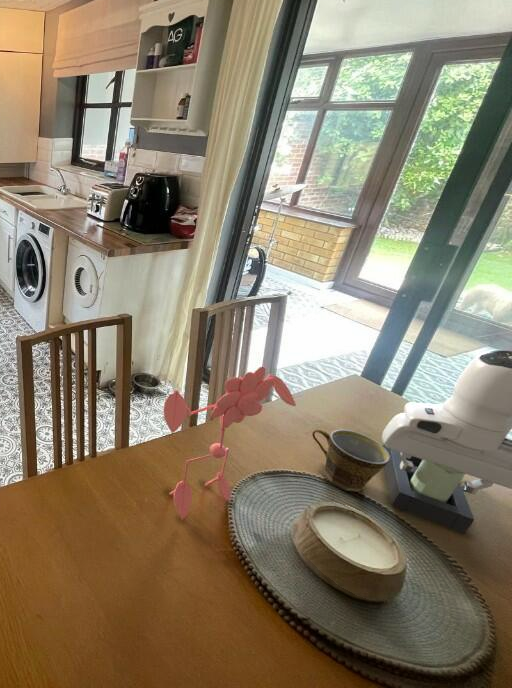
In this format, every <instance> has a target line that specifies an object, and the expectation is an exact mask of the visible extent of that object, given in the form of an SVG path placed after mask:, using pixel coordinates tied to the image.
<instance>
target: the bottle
mask: <svg viewBox="0 0 512 688" xmlns="http://www.w3.org/2000/svg"><path fill="white" fill-rule="evenodd" d="M416 468H417V470H416V472H415V473H414V475H413V477H412V478H411V480H410V482H409V484H410V488H411V491H414V492H417V493H420V494H422V495H425V496H428V497H431V498H433V499H436V500H439V501H442V502H444V503H446V502H447V500H448V499H449V497H450V496H451V494H452V493H453V491H454V490H455V488H456V487H457V485H458V484H459V482H460V483H461V481H462V480H463V478H464V476H465V475H466V474H465V473H463V472H460V471H457V470H454V469H451V468H448V467H445V466H441V465H438V464H435V463H432V462H429V461H426V460H422V462H421V463H420V465H419V467H418V466H417V467H416Z"/></svg>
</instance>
